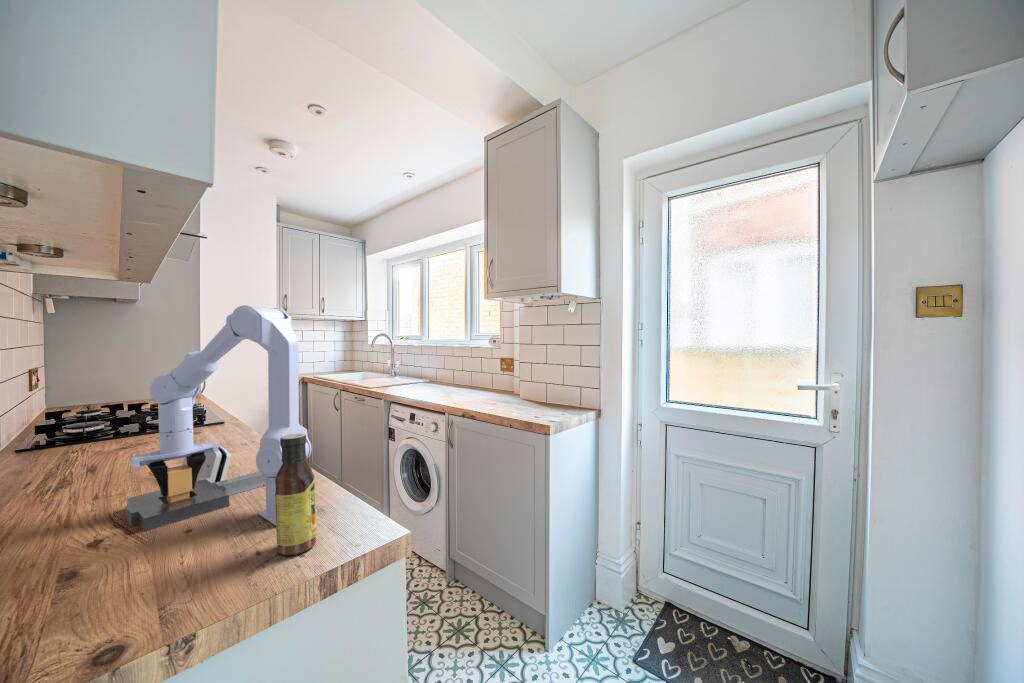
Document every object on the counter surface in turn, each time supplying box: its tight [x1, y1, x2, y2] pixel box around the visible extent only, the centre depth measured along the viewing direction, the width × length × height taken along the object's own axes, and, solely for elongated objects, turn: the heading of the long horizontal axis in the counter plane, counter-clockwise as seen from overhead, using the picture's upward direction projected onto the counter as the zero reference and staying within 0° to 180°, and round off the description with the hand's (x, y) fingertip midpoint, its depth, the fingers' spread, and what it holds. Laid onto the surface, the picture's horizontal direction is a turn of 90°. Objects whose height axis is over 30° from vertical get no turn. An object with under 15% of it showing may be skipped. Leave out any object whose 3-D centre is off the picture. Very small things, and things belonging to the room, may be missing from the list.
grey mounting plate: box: [124, 470, 266, 532], centre depth 91 cm, size 16×27×3 cm, turn 143°
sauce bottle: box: [275, 434, 318, 556], centre depth 70 cm, size 7×6×20 cm
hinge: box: [180, 445, 232, 484], centre depth 105 cm, size 17×5×10 cm, turn 61°
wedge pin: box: [167, 464, 192, 503], centre depth 87 cm, size 4×4×7 cm
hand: (178, 491), depth 87 cm, fingers closed on wedge pin, 4 cm apart
